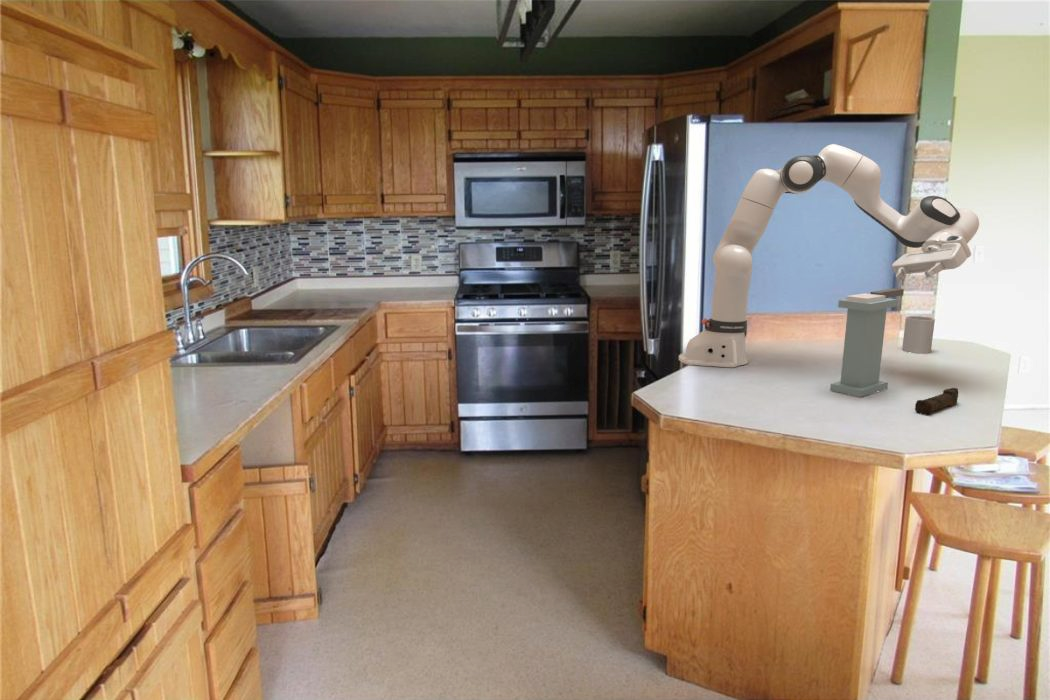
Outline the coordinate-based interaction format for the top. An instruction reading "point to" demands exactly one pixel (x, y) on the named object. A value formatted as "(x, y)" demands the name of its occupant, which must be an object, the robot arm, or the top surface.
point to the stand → (863, 347)
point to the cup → (918, 334)
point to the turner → (875, 295)
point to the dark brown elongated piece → (937, 401)
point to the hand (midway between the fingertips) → (912, 276)
